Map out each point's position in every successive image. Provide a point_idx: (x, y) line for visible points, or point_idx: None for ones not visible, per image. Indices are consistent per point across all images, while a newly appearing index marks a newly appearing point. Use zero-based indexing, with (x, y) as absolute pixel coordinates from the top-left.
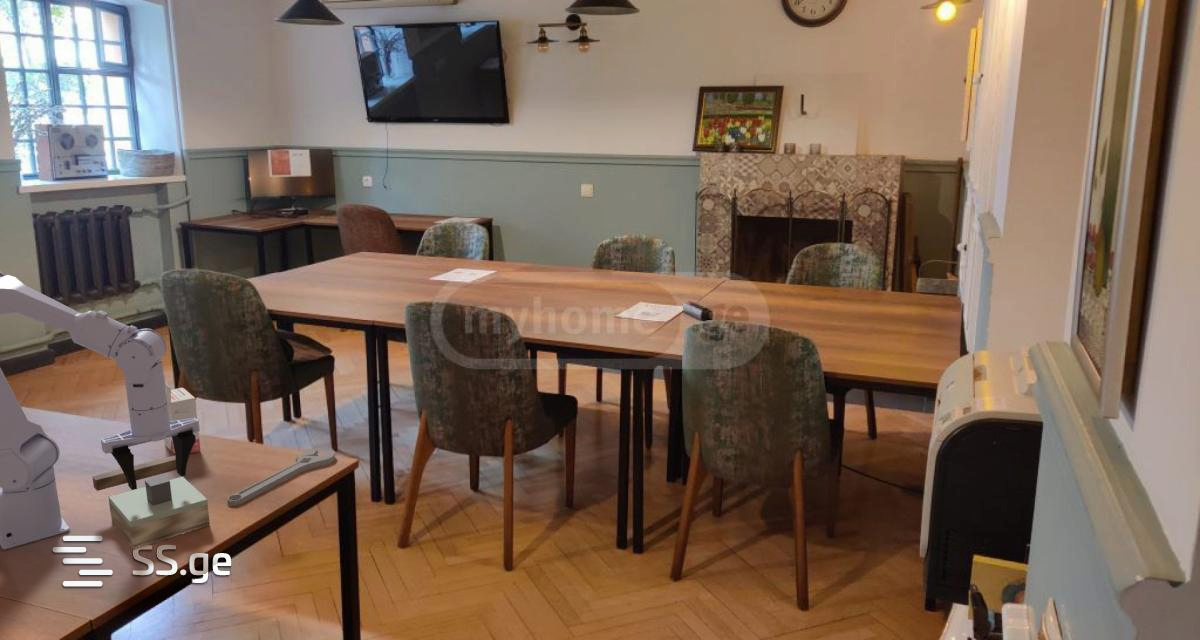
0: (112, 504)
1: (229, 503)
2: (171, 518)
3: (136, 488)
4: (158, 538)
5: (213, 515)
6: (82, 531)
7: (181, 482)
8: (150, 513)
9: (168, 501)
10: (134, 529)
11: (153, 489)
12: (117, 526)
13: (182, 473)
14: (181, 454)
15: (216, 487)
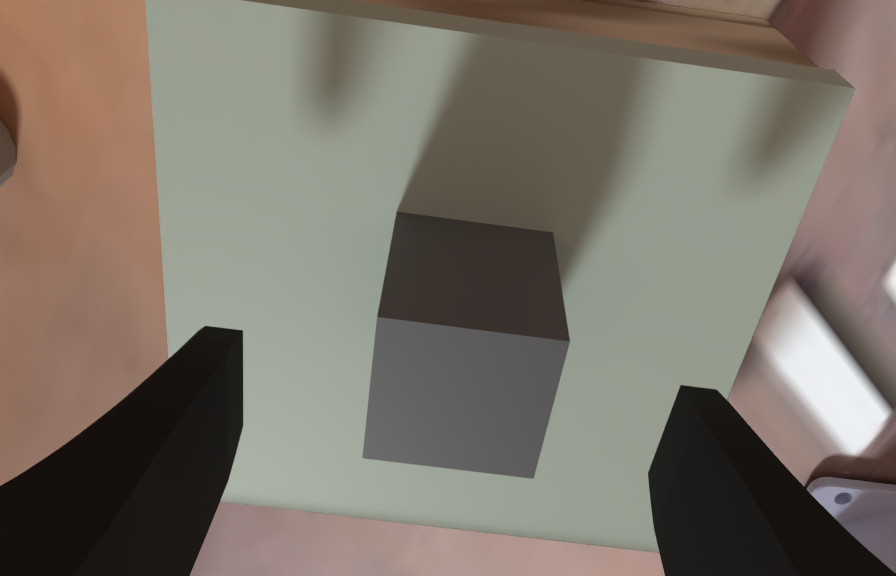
0: None
1: (2, 140)
2: (494, 20)
3: (685, 388)
4: (598, 1)
5: (148, 78)
6: (774, 437)
7: None
8: (650, 110)
9: (428, 212)
10: (793, 62)
11: (545, 312)
12: None
13: (221, 344)
14: (129, 505)
15: (23, 399)
